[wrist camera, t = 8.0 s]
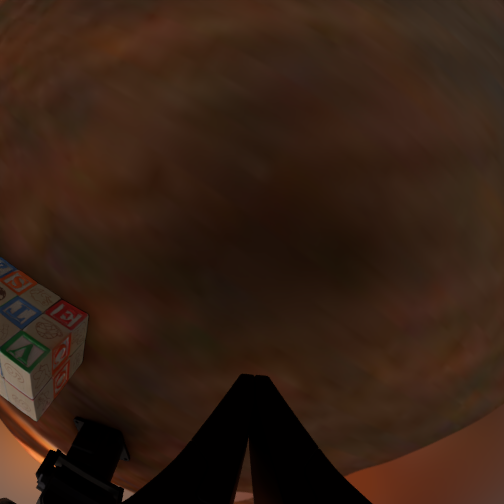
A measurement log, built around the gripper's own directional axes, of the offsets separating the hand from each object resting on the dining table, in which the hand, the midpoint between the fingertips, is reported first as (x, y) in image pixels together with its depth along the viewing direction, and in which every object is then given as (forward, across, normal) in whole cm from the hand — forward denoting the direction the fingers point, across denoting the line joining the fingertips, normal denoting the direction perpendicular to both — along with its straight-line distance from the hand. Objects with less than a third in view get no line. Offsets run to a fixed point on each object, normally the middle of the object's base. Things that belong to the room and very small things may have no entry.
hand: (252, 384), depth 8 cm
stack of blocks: (+12, +24, +6) cm, 28 cm away
